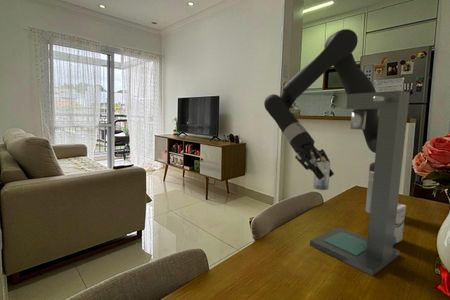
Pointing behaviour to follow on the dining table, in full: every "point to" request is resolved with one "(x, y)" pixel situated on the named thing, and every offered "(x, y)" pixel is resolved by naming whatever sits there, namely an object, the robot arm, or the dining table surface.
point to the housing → (325, 168)
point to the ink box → (399, 223)
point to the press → (375, 185)
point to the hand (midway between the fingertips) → (326, 176)
